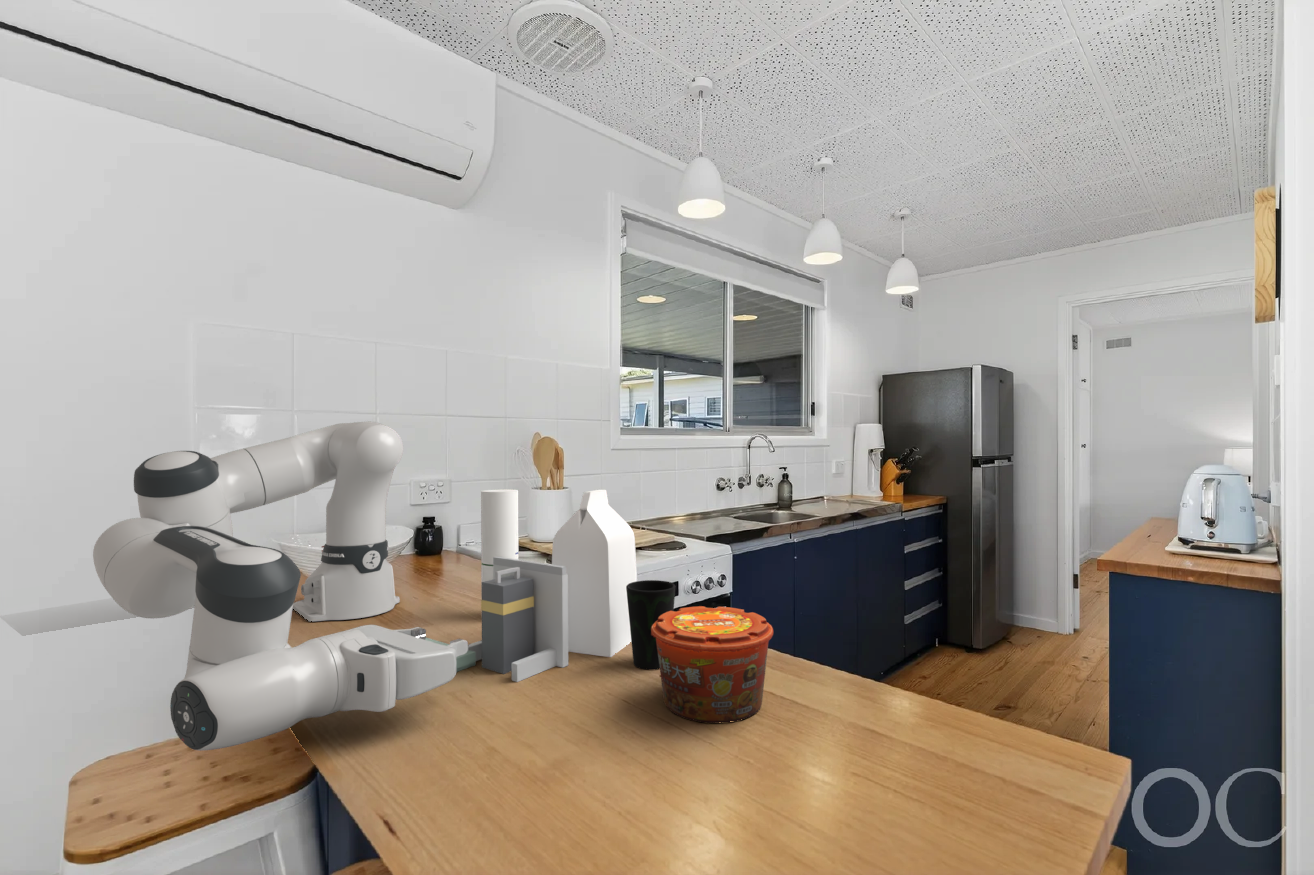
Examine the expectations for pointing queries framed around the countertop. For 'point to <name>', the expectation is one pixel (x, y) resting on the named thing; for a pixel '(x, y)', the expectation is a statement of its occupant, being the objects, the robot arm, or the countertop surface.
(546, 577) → the dock
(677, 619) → the food container
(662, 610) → the cup
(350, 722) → the countertop surface
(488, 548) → the cylindrical container
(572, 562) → the milk
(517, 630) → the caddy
